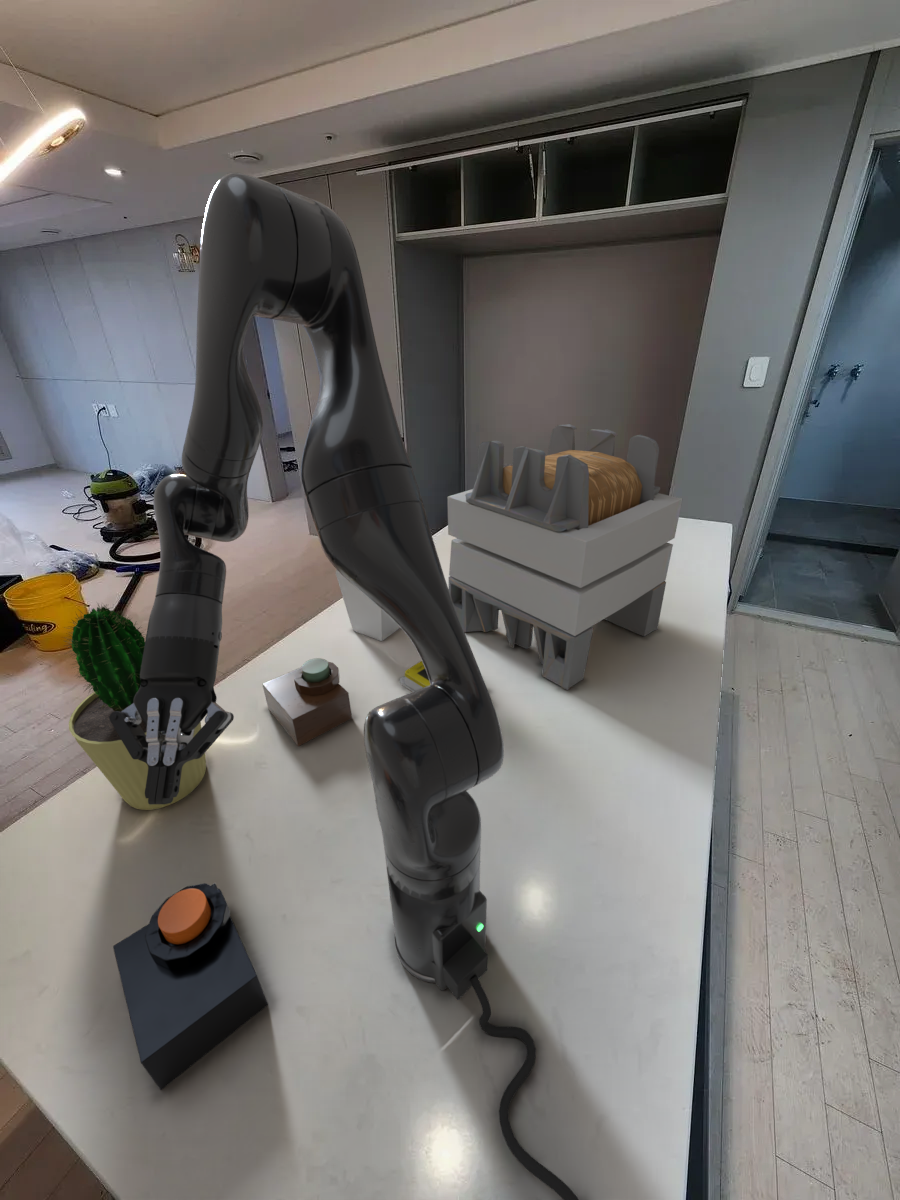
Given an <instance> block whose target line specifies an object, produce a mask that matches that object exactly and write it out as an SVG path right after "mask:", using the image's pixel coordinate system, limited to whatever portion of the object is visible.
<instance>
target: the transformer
mask: <svg viewBox="0 0 900 1200" xmlns="http://www.w3.org/2000/svg"><path fill="white" fill-rule="evenodd" d="M575 430H577V427H576V426H575V425H572V424H571V423H567V424H566V423H565V424H557V426H555V427H554V428H553V429H552V430H551V433H550V437H549V438H550V439H549V445H548V449H547V450H548V452H547V455H546V452H545V451H544V450H541V449H536V448H532V447H531V448H530V447H527V446H522V445H521V446H516V447H514V448H513V450H512V465H507V466H504V461H505V459H504V457H505V445H504V443H503V442H502V441H500V440H489V441H482V442H481V443H480V444H479V445H478V448H477V460H476V461H477V464H476V465H477V466H476V475H477V476H476V480H475V482H474V485H473V488H471V489H469V490H465V491H462V492H458V493H455V494H452V495H449V496H447V497H446V498H447V535H449V536H451V537H453V539H452V540H451V542H450V556H449V571H448V589H449V592H450V595H451V598H452V601H453V604H454V607H455V610H456V612H457V615H458V618H459V620H460V623H461V625H462V628H463V630H464V633H469V632H470V633H471V632H483V633H488V632H491V631H496V630H497V629H498V628H499V614H500V613H499V612H500V611H501V615H502V620H503V624H504V627H505V637H506V639H507V640H508V644H509V647H510V648H515V645H517V646H519V647H521V648H523V649H526V650H527V649H529V648H531V647H532V645H533V632H534V638H535V642H536V643H535V644H536V647H537V653H538V658H539V664H541V665H542V670H541V677H543V678H545V679H547V680H548V681H550V682H552V683H554V684H555V685H558V686H559V687H560V688H562V689H563V690H567V691H568V690H571V689H573V688H574V685H576V684H578V683H580V682H582V681H583V680H584V679H585V678H584V677H585V673H586V666H587V662H588V657H589V652H590V647H591V641H592V637H593V632H594V627H593V626H594V625H596V624H598V623H600V622H601V621H603V620H604V621H607V622H609V623H612V624H614V625H616V626H619V627H621V628H623V629H625V630H628V631H630V632H632V633H634V634H637V635H639V636H641V637H646V636H647V635H649V634H651V633H652V632H654V631H656V630H659V629H658V628H659V624H660V618H661V613H662V607H663V603H664V602H663V601H664V596H665V590H666V584H667V581H666V580H667V575H668V570H669V566H670V561H671V557H672V551H673V547H674V543H670V541H672V540H674V539H675V538H676V533H677V528H678V523H679V519H680V515H681V509H682V503H683V498H681V497H678V496H672V495H667V494H665V493H659V492H660V491H661V487H660V486H658V485H655V483H656V482H655V481H656V480H655V479H656V474H657V467H658V460H659V455H660V446H659V443H658V442H657V440H656V439H654V438H651V437H650V436H645V435H643V434H637V435H633V436H631V437H630V438H629V442H628V449H627V454H626V455H627V457H626V460H625V459H624V458H621V457H617V456H615V444H616V437H618V433H617V432H615V431H613V430H610V429H608V428H605V429H598V428H592V429H588V430H587V432H586V439H585V447H584V450H577V449H576V444H575V443H576V441H575V439H576V438H575Z"/></svg>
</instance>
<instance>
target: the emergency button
mask: <svg viewBox="0 0 900 1200" xmlns="http://www.w3.org/2000/svg"><path fill="white" fill-rule="evenodd" d="M399 684H400V685H401V686H402V687H404V688H405V689H406V690H409V691H410V692H411V693H412V692H414V691H417V690H419V689H422V688H424V687H427V686H429V685H430V681H429V678H428V675H427V672H426V669H425V667H424V665H423V662H422V660H420V661H419V662H417V663H415V664H414V665H412V666H410V667H408V668H407V669H406V670H405V671H404V675H403V676H402V677H400V678H399Z"/></svg>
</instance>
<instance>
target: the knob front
mask: <svg viewBox="0 0 900 1200" xmlns="http://www.w3.org/2000/svg"><path fill="white" fill-rule="evenodd" d="M181 890H182V889H181ZM179 891H180V890H179ZM177 892H178V891H177ZM177 892H175V893H176V894H175V893H174V894H175V895H173V894H172V895H173V896H172V895H171V896H172V897H171V898H170V899H168V900H167V902H166V903H165V904H164V905H163V907H162V908H161V910H160V913H159V916H158V926H159V928H160V930H161V932H162V934H163V935H164V937H165V939H166V940H167V941H168V942H169V943H171V944H176V945H179V944H184V943H187V942H189V941H191V940H193V939H195V938H196V937H197V936H199V935H200V934H201V933H202V932H203V930H204V929H205V928H206V926H207V925H208V923H209V920H210V917H211V908H210V906H209V903H208V901H207V899H206V896H205V894H204V893H203V892H202V891H201V890H198V889H194V888H191V889H185V890H182V891H180V892H178V893H177Z"/></svg>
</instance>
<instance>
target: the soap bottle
mask: <svg viewBox="0 0 900 1200" xmlns="http://www.w3.org/2000/svg"><path fill="white" fill-rule="evenodd" d="M335 576H336V579H337V583H338V586H339V590H340V592H341V596H342V599H343V603H344V606H345V610H346V613H347V616H348V619H349V623H350V626H351V629H352V631H354V632H355V633H359V634H361V635H364V636H367V637H370V638H372V639H374V640H378V641H379V642H383V641H384V640H386V639H387V638H388V637H390V636H391V635H393V634H394V633H395V632H396V631H398V630H400V629H401V628H400V626H399V625H398V624H397V623H396V622H395V621H394V620H393V619H392V618H391V617H390V616H389V615H387V614H386V613H385V612H384V611H383V610H382V609H381V608H380V607H378V606H377V605H376V604H375V603H374V602H372V601H371V600H370V599H369V598H368V597H366V596H365V595H364V594H363V593H362V592H360V591H359V590H358V589H357V588H356V587H355V586H353V585H352V584H351V583H350V582H349V581H348V580H347V579H346V578H345V577H344V576H343V575H342V574H341V573H340V572H339V571H338V570H337V569H336V568H335Z"/></svg>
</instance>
